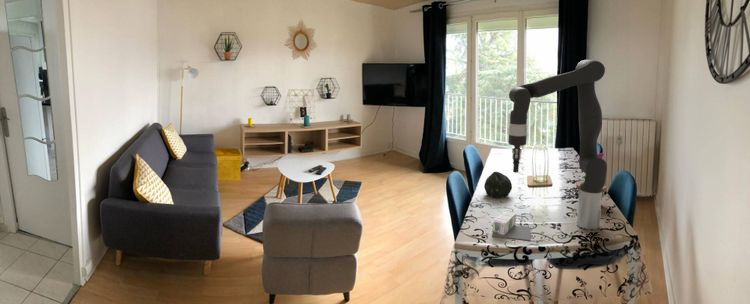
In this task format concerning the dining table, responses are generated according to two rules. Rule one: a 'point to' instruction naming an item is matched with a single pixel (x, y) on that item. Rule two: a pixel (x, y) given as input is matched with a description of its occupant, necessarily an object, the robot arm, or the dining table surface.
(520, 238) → the mat
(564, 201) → the dining table surface
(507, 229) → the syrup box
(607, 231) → the dining table surface
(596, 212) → the robot arm
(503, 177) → the squash
